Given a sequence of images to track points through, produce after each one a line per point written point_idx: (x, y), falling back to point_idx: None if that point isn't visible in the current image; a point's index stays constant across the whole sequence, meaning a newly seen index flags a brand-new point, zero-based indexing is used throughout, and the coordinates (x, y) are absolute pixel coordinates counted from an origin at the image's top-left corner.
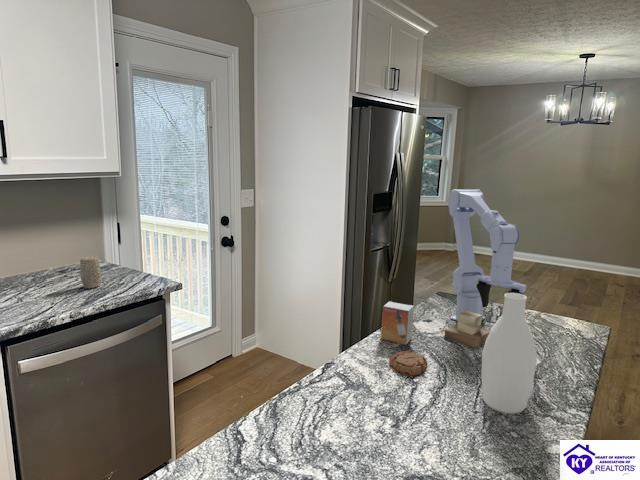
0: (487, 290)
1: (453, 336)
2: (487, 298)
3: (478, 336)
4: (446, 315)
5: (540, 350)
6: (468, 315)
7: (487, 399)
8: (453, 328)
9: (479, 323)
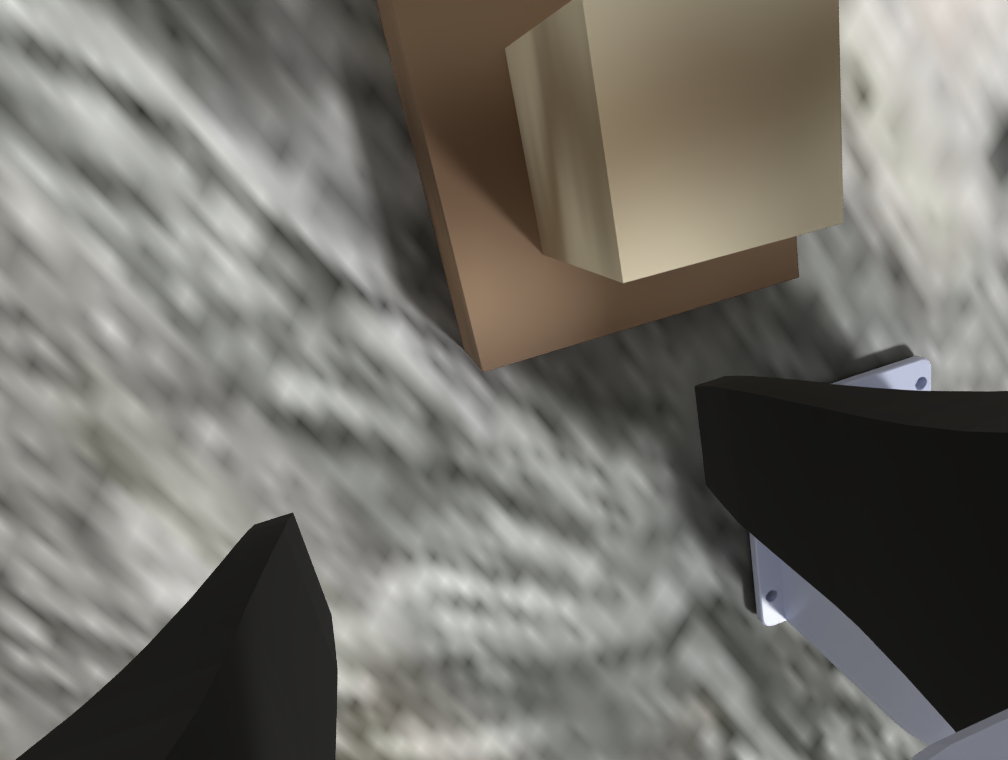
0: (967, 626)
1: None
2: (802, 539)
3: (437, 81)
4: (970, 388)
5: (28, 564)
6: (720, 59)
7: None
8: None
9: (569, 219)
